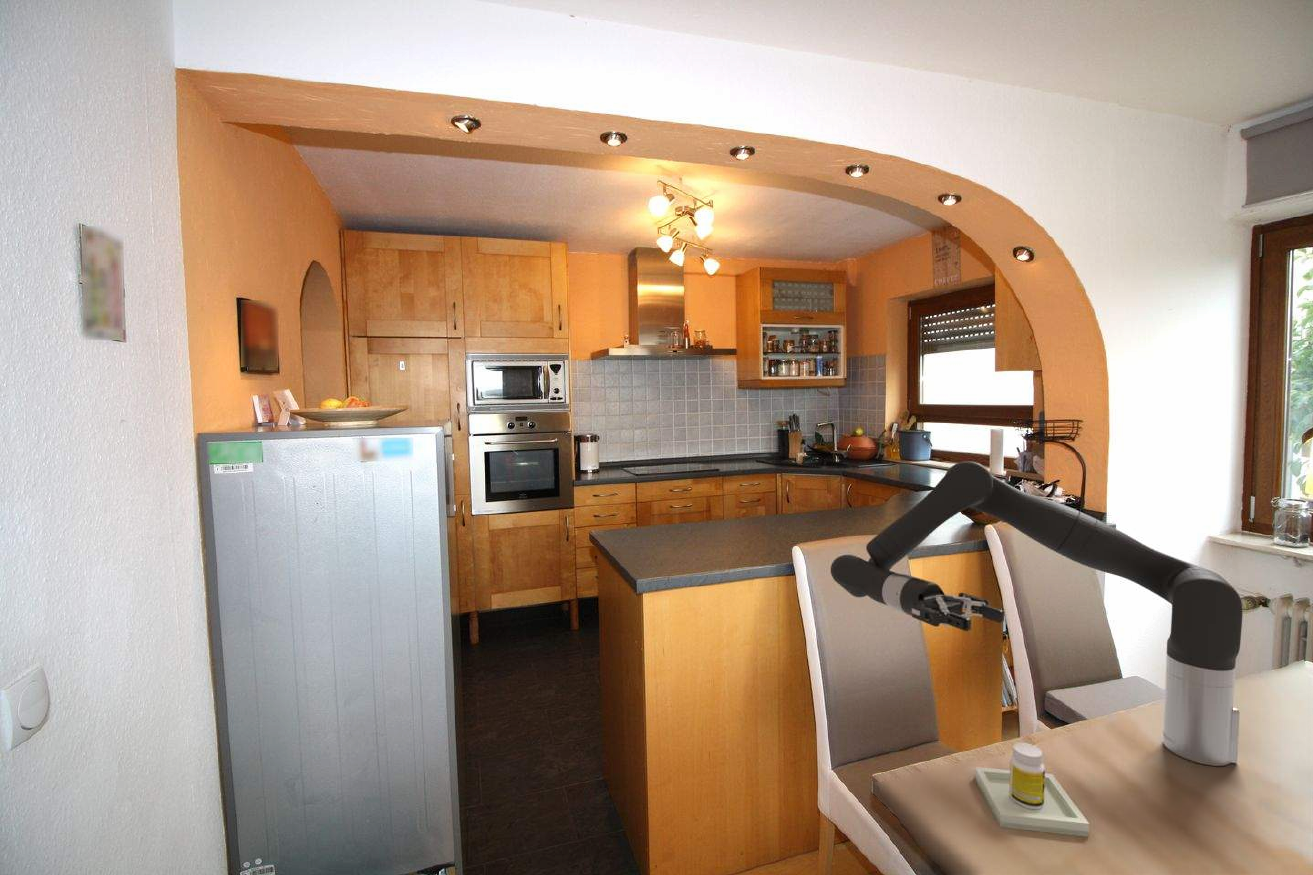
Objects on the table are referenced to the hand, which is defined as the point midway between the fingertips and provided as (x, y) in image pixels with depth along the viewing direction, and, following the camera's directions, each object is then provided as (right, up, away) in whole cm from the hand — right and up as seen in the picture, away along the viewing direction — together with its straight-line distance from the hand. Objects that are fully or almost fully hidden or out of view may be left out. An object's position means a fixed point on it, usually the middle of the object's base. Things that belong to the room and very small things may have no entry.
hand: (986, 621), depth 106 cm
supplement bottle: (+1, -26, -10) cm, 28 cm away
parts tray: (+1, -27, -10) cm, 28 cm away
